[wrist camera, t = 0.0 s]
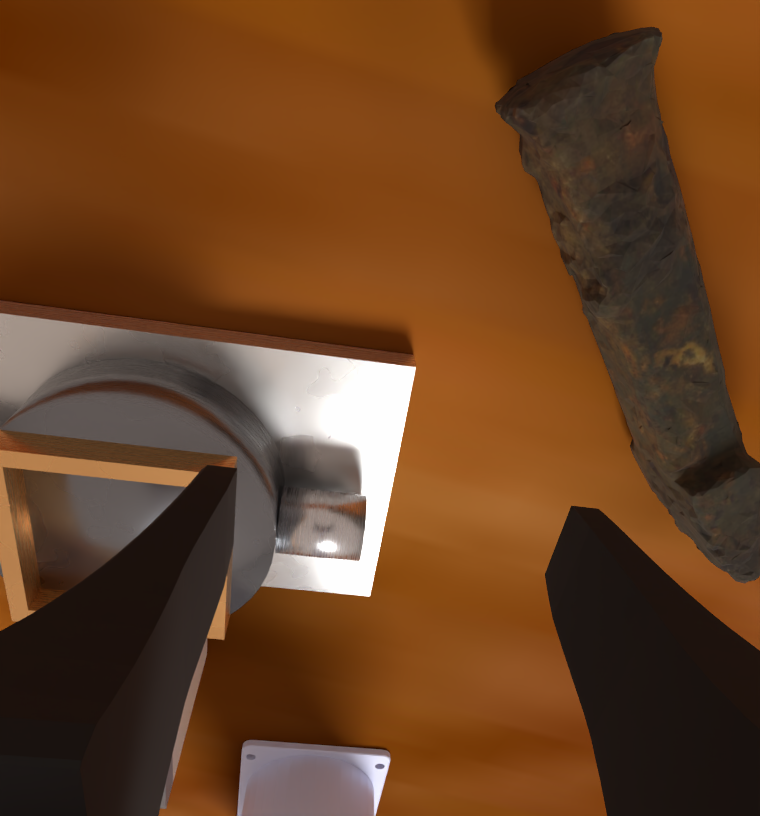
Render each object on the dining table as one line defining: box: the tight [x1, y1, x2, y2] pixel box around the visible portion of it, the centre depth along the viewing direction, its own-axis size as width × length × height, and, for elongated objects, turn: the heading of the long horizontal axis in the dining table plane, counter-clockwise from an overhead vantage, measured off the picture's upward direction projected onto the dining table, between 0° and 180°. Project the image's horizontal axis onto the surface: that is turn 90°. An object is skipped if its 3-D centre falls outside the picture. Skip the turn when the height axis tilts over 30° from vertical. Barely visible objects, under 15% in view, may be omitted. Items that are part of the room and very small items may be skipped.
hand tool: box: [495, 27, 760, 583], centre depth 20 cm, size 19×4×5 cm, turn 24°
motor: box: [0, 300, 416, 640], centre depth 22 cm, size 11×18×5 cm, turn 81°
